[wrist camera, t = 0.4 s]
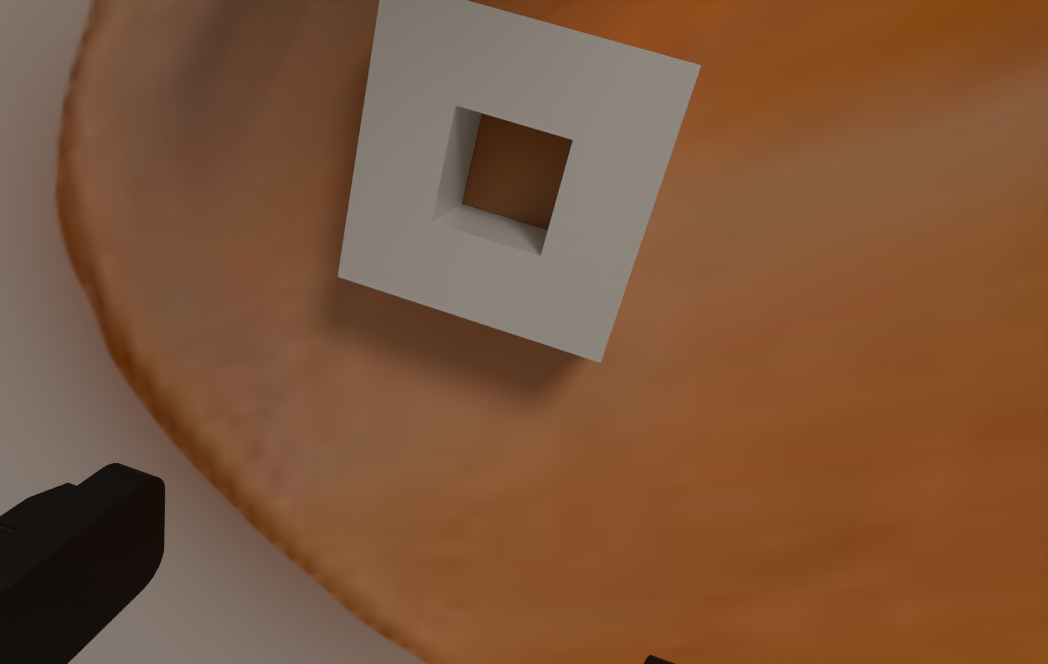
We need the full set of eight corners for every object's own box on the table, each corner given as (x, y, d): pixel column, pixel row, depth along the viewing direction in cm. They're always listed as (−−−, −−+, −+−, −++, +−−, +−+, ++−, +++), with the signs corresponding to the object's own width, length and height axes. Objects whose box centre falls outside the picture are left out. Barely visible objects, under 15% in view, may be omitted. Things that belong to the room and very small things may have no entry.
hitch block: (423, -11, 34) (383, -24, 29) (697, 66, 32) (701, 65, 28) (377, 252, 39) (337, 276, 34) (609, 327, 38) (600, 362, 33)
